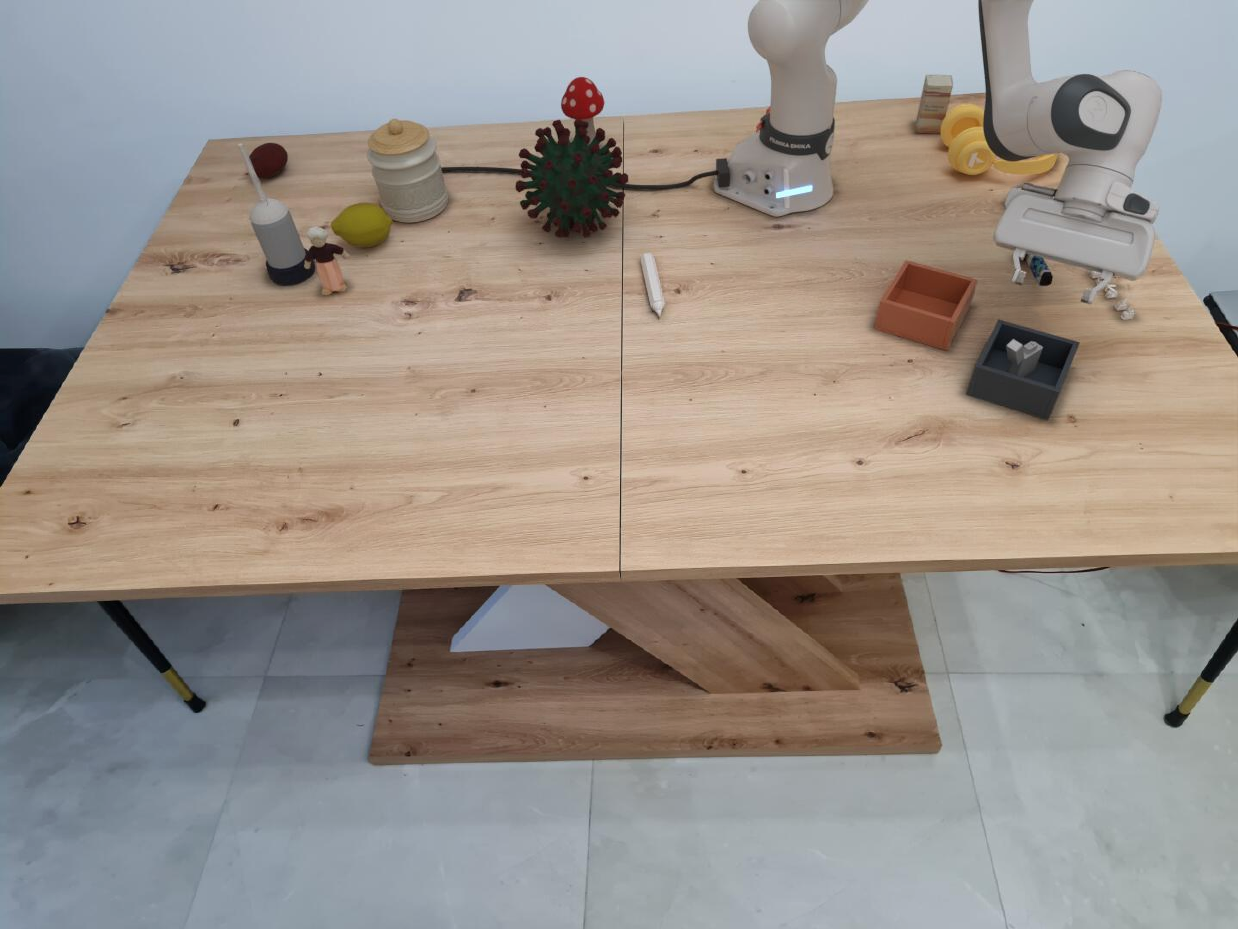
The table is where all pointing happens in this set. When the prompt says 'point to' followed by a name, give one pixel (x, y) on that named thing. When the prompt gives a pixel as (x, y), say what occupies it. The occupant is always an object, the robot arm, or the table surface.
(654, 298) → the marker
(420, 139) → the jar
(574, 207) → the virus model
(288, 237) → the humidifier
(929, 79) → the beige brown box
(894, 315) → the terracotta bin
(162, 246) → the table surface
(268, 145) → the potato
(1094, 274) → the figurines set
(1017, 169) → the headset
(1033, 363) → the lighter
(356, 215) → the lemon
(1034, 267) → the knife
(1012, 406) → the grey bin
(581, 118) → the decorative mushroom
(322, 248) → the grandmother figurine
